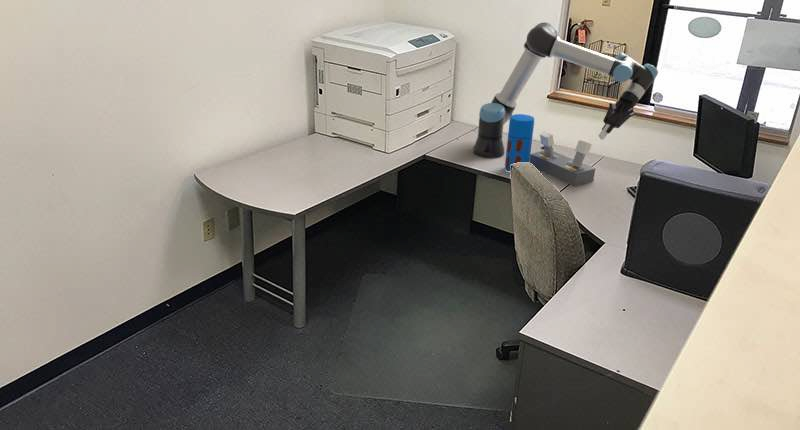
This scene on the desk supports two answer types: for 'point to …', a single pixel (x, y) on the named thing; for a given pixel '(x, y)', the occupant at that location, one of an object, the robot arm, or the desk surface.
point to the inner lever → (547, 142)
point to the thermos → (519, 139)
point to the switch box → (562, 168)
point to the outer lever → (581, 152)
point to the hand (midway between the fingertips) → (600, 137)
